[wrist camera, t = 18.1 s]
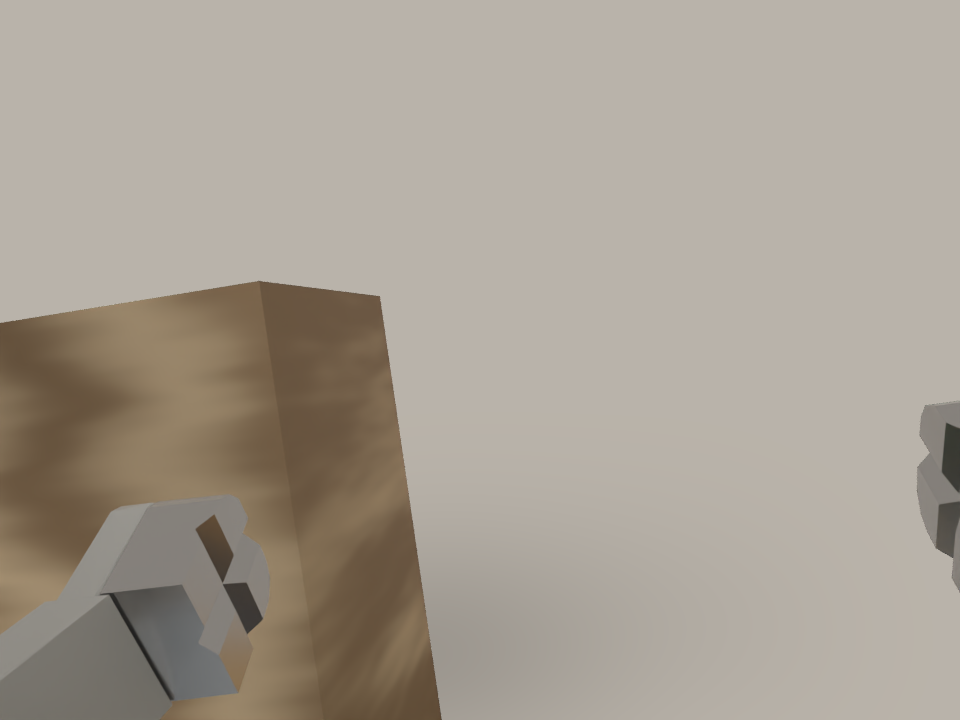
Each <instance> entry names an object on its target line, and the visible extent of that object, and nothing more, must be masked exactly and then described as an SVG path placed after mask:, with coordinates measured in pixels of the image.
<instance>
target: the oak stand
mask: <svg viewBox="0 0 960 720" xmlns="http://www.w3.org/2000/svg"><path fill="white" fill-rule="evenodd" d="M226 494H230V495H232V496H234V497H236V498H239V500H240V502H241V505H242V507H243V509H244V511H245V513H246V515H247V517H248V521H247V523H246V526H245V528H244V531H243V534H245V535H246V536H248V537H249V538H251V539H252V540H254V541H255V542H256V543H258V544H259V545H260V546H261V548H262V551H263V553H264V555H265V558H266V561H267V565H268V570H269V575H270V590H269V602H268V606H267V609H266V612H265V615H264V619H263V620H262V621H261V622H260V623H259V624H258V625H257V626H256V627H255V628H253V629H252V630H251V631H250V632H249V633H248V634H247V635H248V637H249V639H250V642H251V644H252V646H253V648H254V649H253V652H252V654H251V657H250V660H249V663H248V666H247V669H246V672H245V675H244V678H243V681H242V684H241V687H240V690H239V693H236V694H228V695H220V696H211V697H203V698H195V699H187V700H179V701H171V702H172V706H171V707H170V708H169V710H168V711H167V712H166V713H165V714H164V715H163V716H162V717H161V718H160V720H442V719H441V713H440V706H439V699H438V692H437V685H436V679H435V671H434V665H433V658H432V651H431V644H430V637H429V631H428V624H427V617H426V610H425V603H424V596H423V589H422V583H421V576H420V569H419V562H418V555H417V548H416V542H415V534H414V528H413V521H412V514H411V507H410V501H409V493H408V487H407V480H406V473H405V466H404V459H403V453H402V446H401V439H400V432H399V425H398V419H397V412H396V404H395V398H394V391H393V384H392V377H391V370H390V363H389V356H388V350H387V343H386V336H385V329H384V322H383V315H382V309H381V302H380V296H373V295H365V294H357V293H349V292H341V291H333V290H326V289H317V288H309V287H302V286H293V285H286V284H278V283H269V282H262V281H257V282H251V283H245V284H238V285H232V286H226V287H220V288H214V289H208V290H202V291H195V292H190V293H183V294H177V295H170V296H164V297H158V298H152V299H146V300H140V301H134V302H128V303H121V304H115V305H109V306H103V307H97V308H90V309H84V310H78V311H72V312H66V313H59V314H53V315H48V316H41V317H35V318H29V319H22V320H16V321H10V322H4V323H0V634H2V633H3V632H4V631H6V630H7V629H9V628H10V627H11V626H13V625H14V624H15V623H17V622H18V621H19V620H21V619H22V618H24V617H25V616H26V615H28V614H29V613H30V612H32V611H33V610H34V609H36V608H37V607H39V606H40V605H41V604H43V603H44V602H47V601H55V600H57V599H58V597H59V596H60V594H61V592H62V591H63V589H64V588H65V586H66V584H67V583H68V581H69V579H70V578H71V576H72V574H73V573H74V571H75V569H76V568H77V566H78V565H79V563H80V561H81V560H82V558H83V556H84V555H85V553H86V551H87V550H88V548H89V547H90V545H91V543H92V542H93V540H94V538H95V537H96V535H97V533H98V532H99V530H100V529H101V527H102V525H103V524H104V522H105V520H106V519H107V517H108V515H109V514H110V512H111V511H113V510H115V509H117V508H119V507H121V506H127V505H136V504H144V503H156V502H159V501H169V500H178V499H188V498H197V497H207V496H216V495H226Z"/></svg>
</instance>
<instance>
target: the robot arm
mask: <svg viewBox="0 0 960 720" xmlns="http://www.w3.org/2000/svg"><path fill="white" fill-rule="evenodd" d="M920 437H921V439H922V440H923V442H924V444H925V445H926V447H927V449H928V450H929V452H930V453H929V455H928V456H927V457H926V458H925V459H924V460H923V461H922V462H921V464H920V465H919V466H918V470H917V493H918V499H919V505H920V511H921V515H922V518H923V521H924V524H925V527H926V529H927V532H928V534H929V536H930V538H931V540H932V542H933V544H934V546H935V547H936V549H938V550H940V551H942V552H943V553H945V554H947V555H949V556H950V557H952V558H953V571H952V579H953V581H954V583H955V584H956V586H957V588H958V590H959V592H960V401H954V402H947V403H939V404H932V405H925V407H924V410H923V413H922V416H921V423H920ZM247 521H248V517H247V515H246V513H245V511H244V509H243V507H242V505H241V502H240V500H239V498H236V497H234V496H232V495H230V494H226V495H216V496H207V497H197V498H188V499H178V500H169V501H159V502H156V503H144V504H136V505H127V506H121V507H119V508H117V509H115V510H113V511H111V512H110V514H109V515H108V517H107V519H106V520H105V522H104V524H103V525H102V527H101V529H100V530H99V532H98V533H97V535H96V537H95V538H94V540H93V542H92V543H91V545H90V547H89V548H88V550H87V551H86V553H85V555H84V556H83V558H82V560H81V561H80V563H79V565H78V566H77V568H76V569H75V571H74V573H73V574H72V576H71V578H70V579H69V581H68V583H67V584H66V586H65V588H64V589H63V591H62V592H61V594H60V596H59V597H58V599H57V600H55V601H47V602H44V603H43V604H41V605H40V606H39V607H37V608H36V609H34V610H33V611H32V612H30V613H29V614H28V615H26V616H25V617H24V618H22V619H21V620H19V621H18V622H17V623H15V624H14V625H13V626H11V627H10V628H9V629H7V630H6V631H4V632H3V633H2V634H0V720H160V718H161V717H162V716H163V715H164V714H165V713H166V712H167V711H168V710H169V708H170V707H171V706H172V702H171V701H179V700H187V699H195V698H203V697H211V696H220V695H228V694H236V693H239V690H240V687H241V684H242V681H243V678H244V675H245V672H246V669H247V666H248V663H249V660H250V657H251V654H252V652H253V649H254V648H253V646H252V644H251V642H250V639H249V637H248V635H247V634H248V633H249V632H250V631H251V630H252V629H253V628H255V627H256V626H257V625H258V624H259V623H260V622H261V621H262V620H263V619H264V615H265V612H266V609H267V606H268V602H269V590H270V575H269V570H268V565H267V561H266V558H265V555H264V553H263V551H262V548H261V546H260V545H259V544H258V543H256V542H255V541H254V540H252V539H251V538H249V537H248V536H246V535H245V534H243V531H244V528H245V526H246V523H247Z"/></svg>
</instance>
